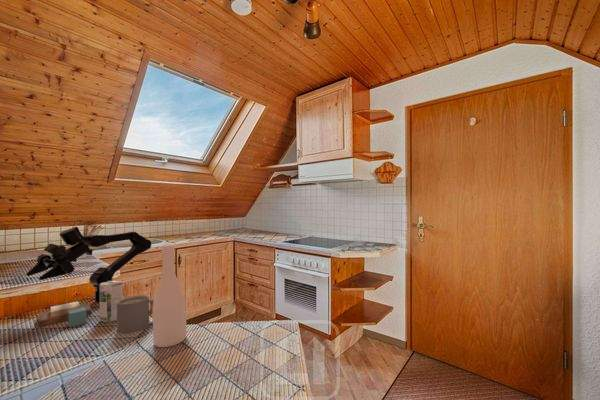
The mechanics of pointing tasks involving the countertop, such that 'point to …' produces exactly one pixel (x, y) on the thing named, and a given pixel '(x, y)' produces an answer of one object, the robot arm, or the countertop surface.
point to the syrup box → (110, 299)
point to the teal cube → (77, 316)
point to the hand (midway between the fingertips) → (33, 277)
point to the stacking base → (58, 318)
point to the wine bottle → (169, 305)
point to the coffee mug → (133, 313)
